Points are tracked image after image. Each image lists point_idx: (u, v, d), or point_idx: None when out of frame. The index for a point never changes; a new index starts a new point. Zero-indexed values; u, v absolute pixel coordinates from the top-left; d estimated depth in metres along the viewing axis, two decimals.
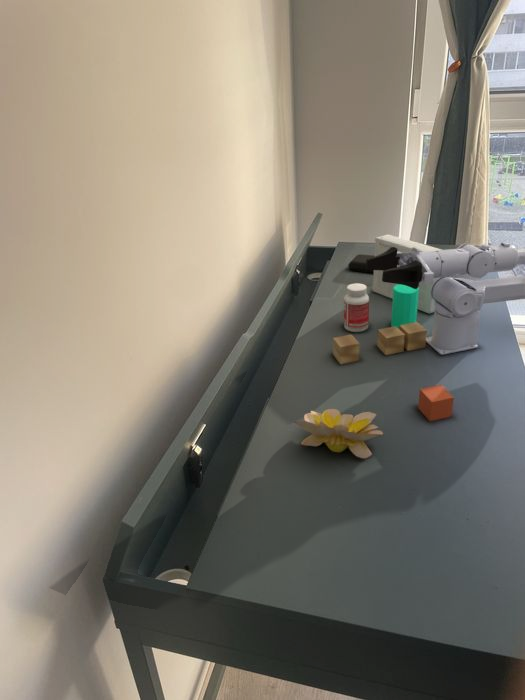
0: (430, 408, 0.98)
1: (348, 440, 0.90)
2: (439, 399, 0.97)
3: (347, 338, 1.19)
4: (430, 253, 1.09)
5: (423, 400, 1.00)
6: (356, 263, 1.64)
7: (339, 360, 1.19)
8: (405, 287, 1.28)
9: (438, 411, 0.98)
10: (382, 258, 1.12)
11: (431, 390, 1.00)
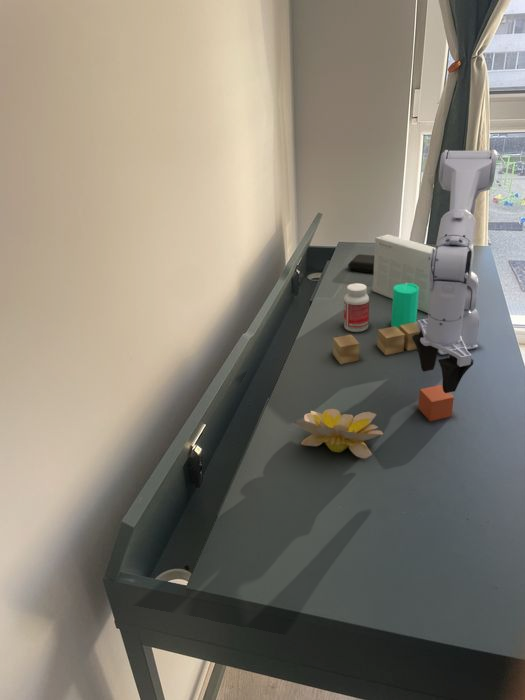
0: (430, 408, 0.98)
1: (348, 440, 0.90)
2: (439, 399, 0.97)
3: (347, 338, 1.19)
4: (432, 326, 0.90)
5: (423, 400, 1.00)
6: (356, 263, 1.64)
7: (339, 360, 1.19)
8: (405, 287, 1.28)
9: (438, 411, 0.98)
10: (424, 355, 0.99)
11: (431, 390, 1.00)
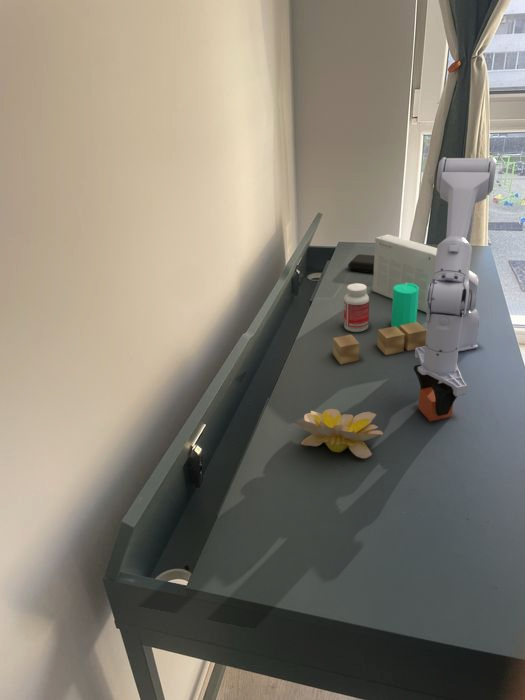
0: (430, 408, 0.98)
1: (348, 440, 0.90)
2: None
3: (347, 338, 1.19)
4: (429, 356, 0.93)
5: (423, 400, 1.00)
6: (356, 263, 1.64)
7: (339, 360, 1.19)
8: (405, 287, 1.28)
9: None
10: (425, 386, 1.01)
11: (431, 390, 1.00)
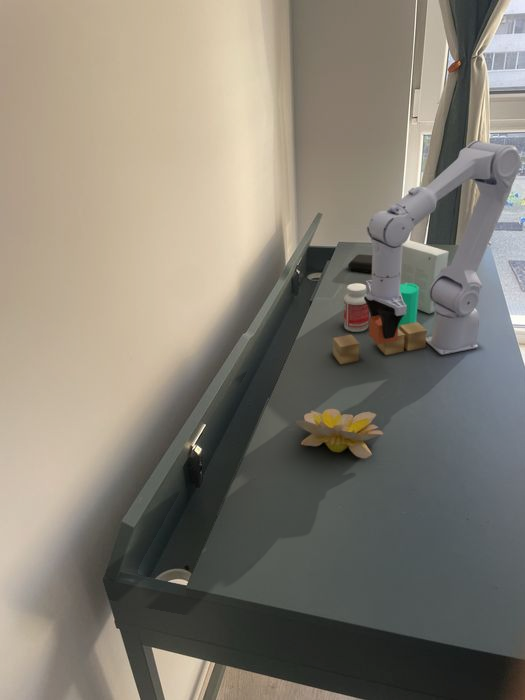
0: (377, 332, 1.10)
1: (348, 440, 0.90)
2: None
3: (347, 338, 1.19)
4: (374, 283, 1.06)
5: (372, 326, 1.12)
6: (356, 263, 1.64)
7: (339, 360, 1.19)
8: (405, 287, 1.28)
9: None
10: (374, 314, 1.13)
11: (379, 317, 1.12)
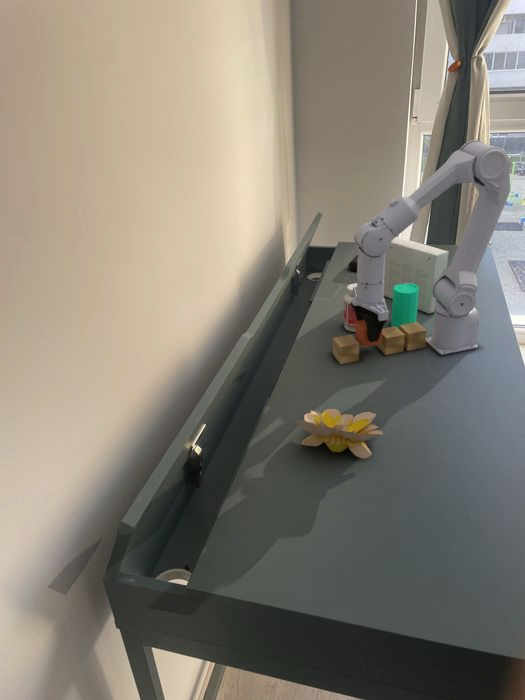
0: (362, 335, 1.17)
1: (348, 440, 0.90)
2: None
3: (347, 338, 1.19)
4: (359, 290, 1.13)
5: (358, 330, 1.19)
6: (356, 263, 1.64)
7: (339, 360, 1.19)
8: (405, 287, 1.28)
9: None
10: (360, 318, 1.20)
11: None
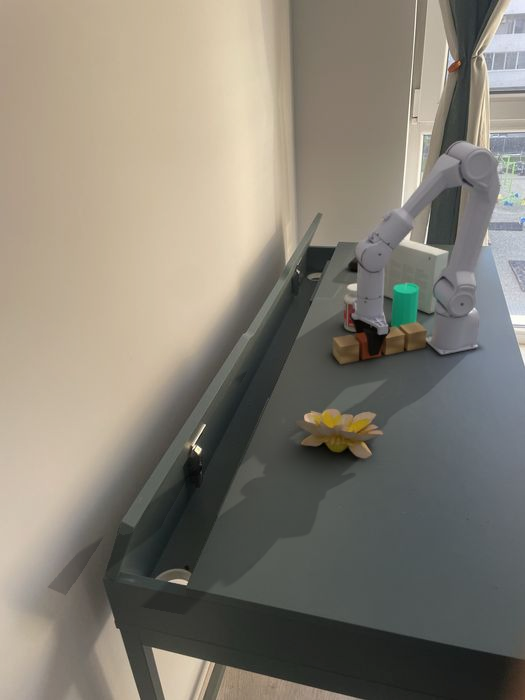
0: (362, 348, 1.18)
1: (348, 440, 0.90)
2: None
3: (347, 338, 1.19)
4: (359, 304, 1.14)
5: None
6: (356, 263, 1.64)
7: (339, 360, 1.19)
8: (405, 287, 1.28)
9: None
10: (359, 330, 1.22)
11: (364, 334, 1.21)
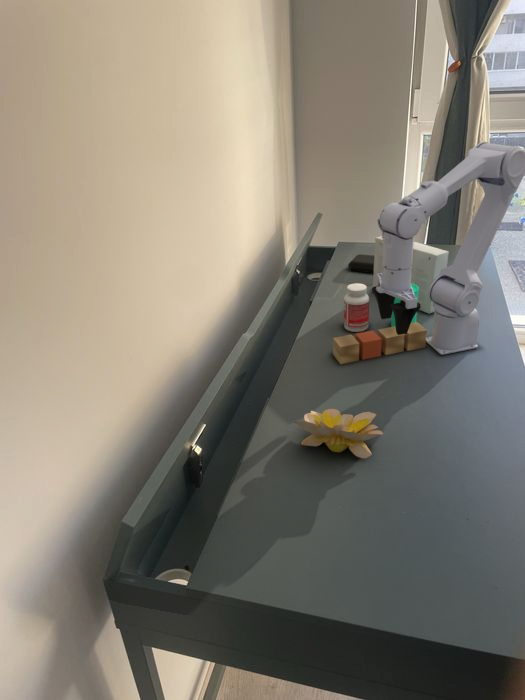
0: (362, 348, 1.18)
1: (348, 440, 0.90)
2: (369, 341, 1.18)
3: (347, 338, 1.19)
4: (385, 276, 1.05)
5: None
6: (356, 263, 1.64)
7: (339, 360, 1.19)
8: None
9: (369, 350, 1.19)
10: (382, 304, 1.13)
11: (364, 334, 1.21)
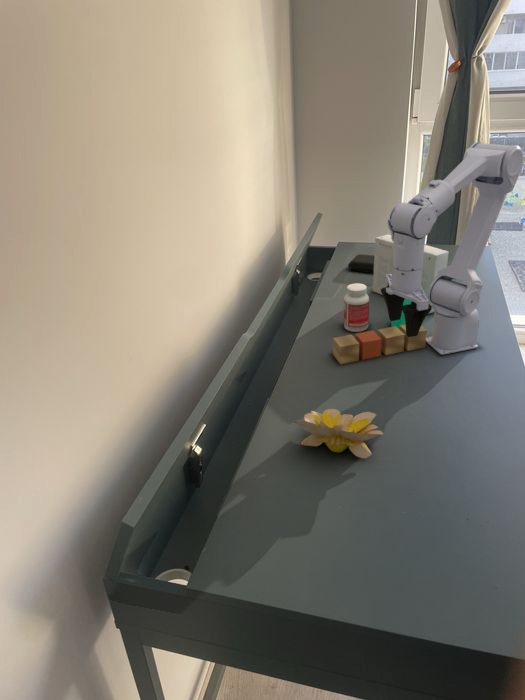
0: (362, 348, 1.18)
1: (348, 440, 0.90)
2: (369, 341, 1.18)
3: (347, 338, 1.19)
4: (395, 277, 1.03)
5: None
6: (356, 263, 1.64)
7: (339, 360, 1.19)
8: None
9: (369, 350, 1.19)
10: (391, 306, 1.11)
11: (364, 334, 1.21)
